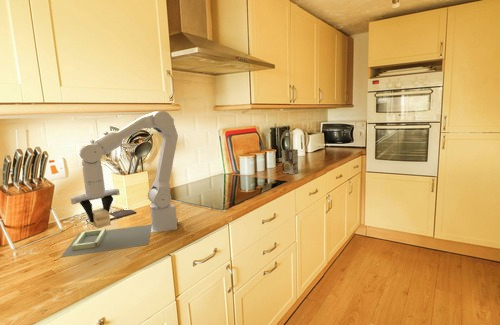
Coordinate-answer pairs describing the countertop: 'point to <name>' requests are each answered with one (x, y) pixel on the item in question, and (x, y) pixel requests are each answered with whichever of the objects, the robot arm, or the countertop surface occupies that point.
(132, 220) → the countertop surface
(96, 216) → the birch block
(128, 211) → the chocolate bar
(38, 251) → the countertop surface
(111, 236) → the rubber mat
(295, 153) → the coffee box
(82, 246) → the sage frame
